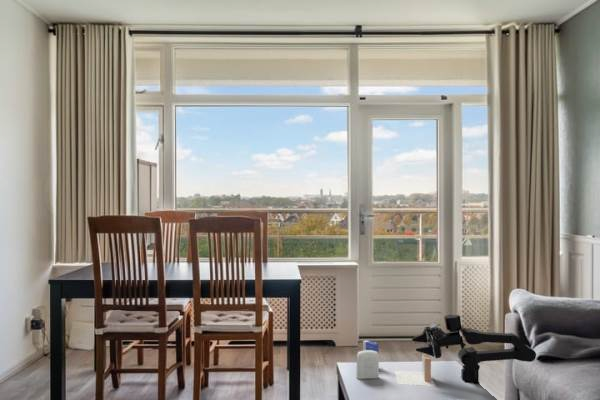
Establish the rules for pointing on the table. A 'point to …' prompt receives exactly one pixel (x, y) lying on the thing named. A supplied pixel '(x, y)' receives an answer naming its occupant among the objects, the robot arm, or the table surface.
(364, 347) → the walkman
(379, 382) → the table surface
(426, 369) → the tile
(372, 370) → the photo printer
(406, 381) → the mat
